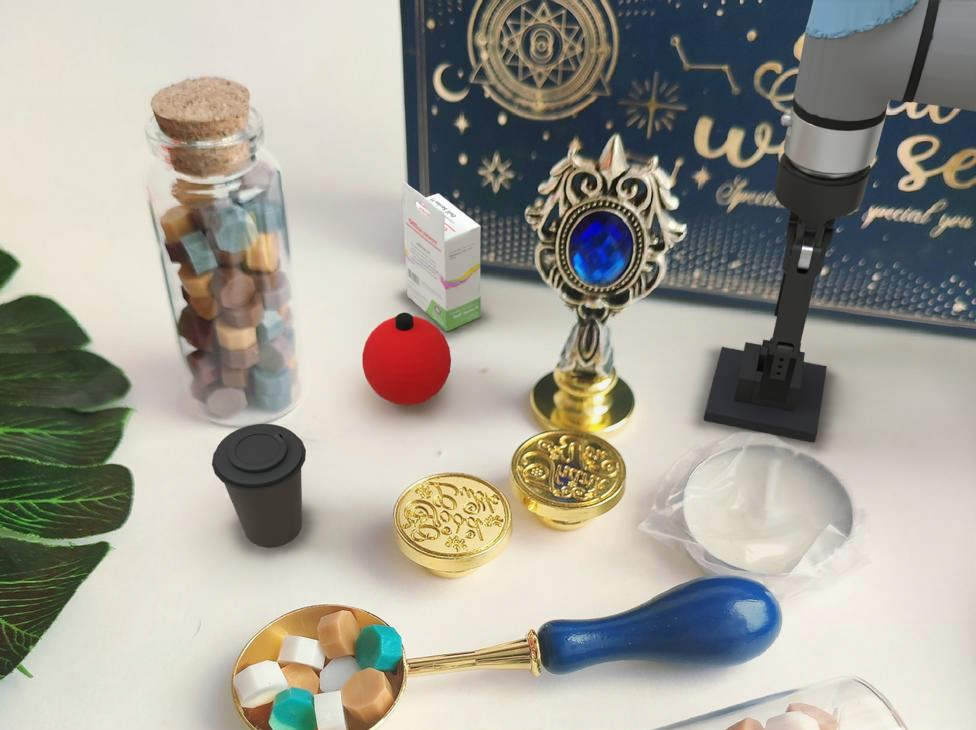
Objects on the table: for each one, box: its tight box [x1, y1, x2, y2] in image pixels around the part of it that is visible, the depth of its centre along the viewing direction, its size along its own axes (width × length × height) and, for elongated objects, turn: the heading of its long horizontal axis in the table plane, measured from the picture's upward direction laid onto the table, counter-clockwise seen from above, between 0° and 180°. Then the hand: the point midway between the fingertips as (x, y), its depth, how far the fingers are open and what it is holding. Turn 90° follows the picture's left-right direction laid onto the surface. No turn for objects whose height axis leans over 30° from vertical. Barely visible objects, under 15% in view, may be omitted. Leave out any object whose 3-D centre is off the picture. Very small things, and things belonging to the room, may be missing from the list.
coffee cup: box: [211, 423, 307, 548], centre depth 96 cm, size 8×8×10 cm
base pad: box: [703, 346, 828, 443], centre depth 110 cm, size 11×11×3 cm
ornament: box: [361, 312, 452, 406], centre depth 108 cm, size 9×9×10 cm
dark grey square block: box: [734, 341, 806, 411], centre depth 109 cm, size 6×6×3 cm
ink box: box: [401, 181, 482, 332], centre depth 117 cm, size 9×5×15 cm, turn 34°
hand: (780, 355), depth 107 cm, fingers open, 13 cm apart
